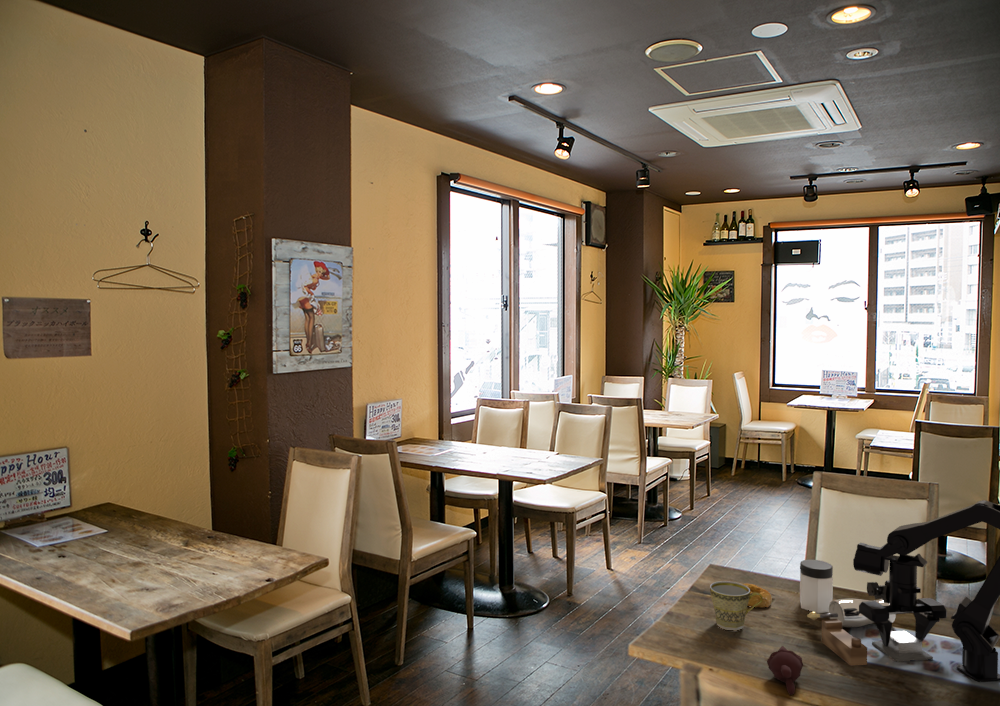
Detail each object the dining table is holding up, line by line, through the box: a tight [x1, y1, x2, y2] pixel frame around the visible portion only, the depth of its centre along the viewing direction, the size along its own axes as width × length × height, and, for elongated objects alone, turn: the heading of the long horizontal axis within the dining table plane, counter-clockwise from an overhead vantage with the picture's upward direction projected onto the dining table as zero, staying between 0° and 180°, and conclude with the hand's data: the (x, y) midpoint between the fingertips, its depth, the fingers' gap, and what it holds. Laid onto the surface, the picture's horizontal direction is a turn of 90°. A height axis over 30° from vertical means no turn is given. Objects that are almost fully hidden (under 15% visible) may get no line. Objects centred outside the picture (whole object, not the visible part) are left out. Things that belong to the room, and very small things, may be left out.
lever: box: [806, 611, 838, 621], centre depth 177 cm, size 9×4×2 cm, turn 5°
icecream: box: [766, 646, 804, 696], centre depth 155 cm, size 7×7×15 cm
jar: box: [799, 559, 834, 614], centre depth 194 cm, size 9×8×12 cm
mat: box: [871, 640, 934, 663], centre depth 168 cm, size 9×9×1 cm
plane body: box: [821, 618, 868, 667], centre depth 167 cm, size 12×4×6 cm, turn 6°
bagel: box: [742, 583, 773, 608], centre depth 198 cm, size 10×11×5 cm
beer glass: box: [827, 598, 897, 628], centre depth 183 cm, size 7×7×15 cm
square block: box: [882, 630, 923, 656], centre depth 168 cm, size 6×6×3 cm
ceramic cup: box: [709, 580, 762, 631], centre depth 182 cm, size 13×10×10 cm
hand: (902, 645), depth 168 cm, fingers open, 8 cm apart
